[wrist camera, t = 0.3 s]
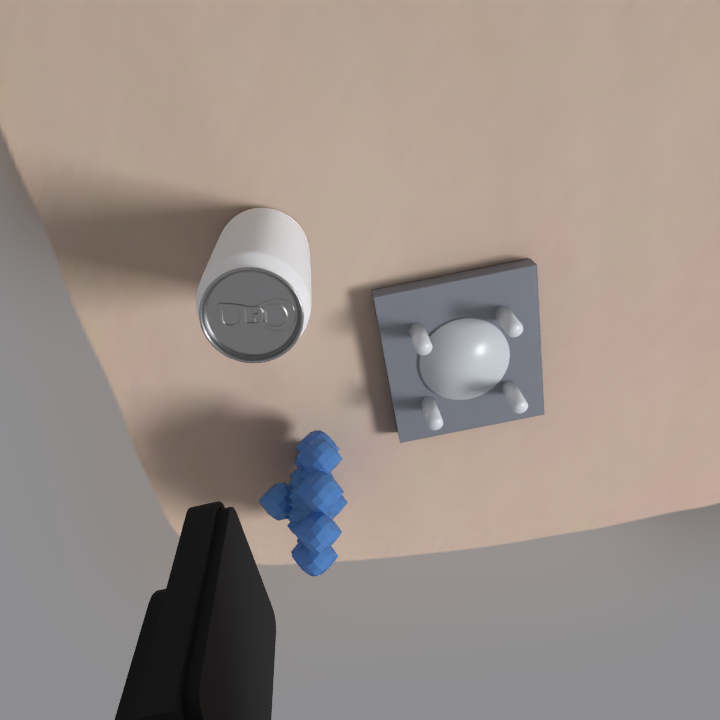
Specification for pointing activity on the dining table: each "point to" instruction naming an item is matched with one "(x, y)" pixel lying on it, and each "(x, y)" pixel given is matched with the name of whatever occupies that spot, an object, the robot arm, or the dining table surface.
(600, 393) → the dining table surface
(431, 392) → the pin tray
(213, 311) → the can
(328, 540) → the grapes
